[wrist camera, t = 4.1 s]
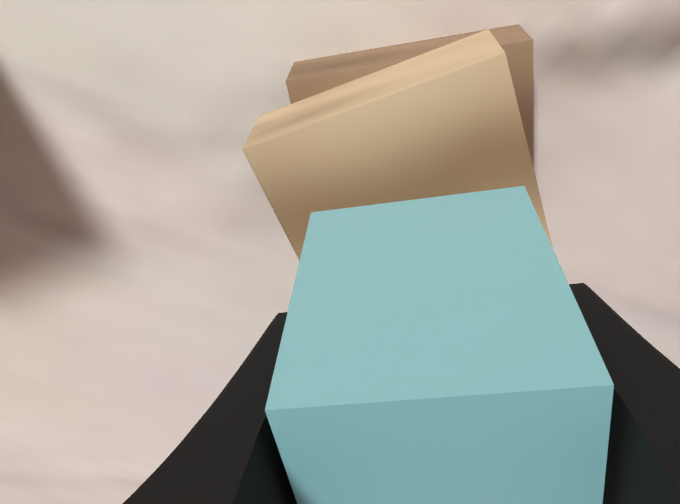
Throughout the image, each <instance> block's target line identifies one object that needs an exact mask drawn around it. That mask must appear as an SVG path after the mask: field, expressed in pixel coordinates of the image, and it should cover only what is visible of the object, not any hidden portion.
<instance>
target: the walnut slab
mask: <svg viewBox="0 0 680 504" xmlns="http://www.w3.org/2000/svg"><path fill="white" fill-rule="evenodd" d="M482 31H484V30H482ZM482 31H476V32H470V33H464V34H458V35H453V36H447V37H441V38H435V39H429V40H423V41H417V42H411V43H405V44H399V45H393V46H387V47H381V48H375V49H369V50H363V51H357V52H351V53H346V54H340V55H334V56H328V57H322V58H316V59H310V60H304V61H298V62H294V64H293V66H292V68H291V71H290V73H289V75H288V77H287V80H286V84H287V88H288V93H289V97H290V102H291V104H293V103H295V102H298V101H300V100H303V99H306V98H308V97H311V96H314V95H316V94H319V93H321V92H324V91H327V90H329V89H332V88H335V87H337V86H340V85H342V84H345V83H348V82H350V81H353V80H356V79H358V78H361V77H363V76H366V75H369V74H371V73H374V72H377V71H379V70H382V69H384V68H387V67H390V66H392V65H395V64H398V63H400V62H403V61H405V60H408V59H411V58H413V57H416V56H419V55H421V54H424V53H426V52H429V51H432V50H434V49H437V48H440V47H442V46H445V45H448V44H450V43H453V42H455V41H458V40H461V39H463V38H466V37H469V36H471V35H474V34H477V33H479V32H482ZM489 31H490V32H491V33H492V35H493V36H494V38H495V39H496V40H497V42H498V43H499V45H500V46H501V47H502V49H503V50H504V52H505V53H506V58H507V62H508V66H509V70H510V74H511V78H512V83H513V87H514V91H515V95H516V99H517V103H518V107H519V112H520V116H521V120H522V124H523V128H524V132H525V136H526V141H527V145H528V149H529V153H530V157H531V161H532V165H533V39H532V38H531V37H530V36H529V35H528V34H527V33H526V32H525V31H524V30H523V29H522V28H521V27H520V26H519V24H518V25H512V26H506V27H500V28H494V29H489Z"/></svg>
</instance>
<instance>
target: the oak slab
mask: <svg viewBox="0 0 680 504" xmlns="http://www.w3.org/2000/svg"><path fill="white" fill-rule="evenodd" d="M242 150H243V152H244V154H245V156H246V157H247V159H248V161H249V163H250V165H251V167H252V169H253V171H254V173H255V175H256V177H257V179H258V181H259V183H260V185H261V187H262V189H263V191H264V193H265V194H266V196H267V198H268V200H269V202H270V204H271V206H272V208H273V210H274V212H275V214H276V216H277V218H278V220H279V222H280V224H281V226H282V228H283V230H284V231H285V233H286V235H287V237H288V239H289V241H290V243H291V245H292V247H293V249H294V251H295V253H296V255H297V257H298V259H299V261H300V257H301V253H302V249H303V245H304V240H305V236H306V232H307V227H308V223H309V219H310V215H311V212H318V211H326V210H334V209H342V208H350V207H358V206H366V205H374V204H382V203H390V202H398V201H406V200H414V199H422V198H430V197H438V196H446V195H454V194H462V193H470V192H478V191H486V190H495V189H503V188H511V187H519V186H525V188H526V191H527V193H528V195H529V197H530V199H531V202H532V204H533V206H534V208H535V211H536V213H537V215H538V217H539V219H540V222H541V224H542V226H543V228H544V231H545V233H546V235H547V237H548V239H549V242H550V244H551V240H550V236H549V232H548V228H547V224H546V219H545V215H544V211H543V207H542V203H541V199H540V195H539V190H538V186H537V182H536V178H535V174H534V170H533V165H532V161H531V157H530V153H529V149H528V145H527V141H526V136H525V132H524V128H523V124H522V120H521V116H520V112H519V107H518V103H517V99H516V95H515V91H514V87H513V83H512V78H511V74H510V70H509V66H508V62H507V58H506V53H505V52H504V50H503V49H502V47H501V46H500V45H499V43H498V42H497V40H496V39H495V38H494V36H493V35H492V33H491V32H490V31H489V29H487V30H484V31H482V32H479V33H477V34H474V35H471V36H469V37H466V38H463V39H461V40H458V41H455V42H453V43H450V44H448V45H445V46H442V47H440V48H437V49H434V50H432V51H429V52H426V53H424V54H421V55H419V56H416V57H413V58H411V59H408V60H405V61H403V62H400V63H398V64H395V65H392V66H390V67H387V68H384V69H382V70H379V71H377V72H374V73H371V74H369V75H366V76H363V77H361V78H358V79H356V80H353V81H350V82H348V83H345V84H342V85H340V86H337V87H335V88H332V89H329V90H327V91H324V92H321V93H319V94H316V95H314V96H311V97H308V98H306V99H303V100H300V101H298V102H295V103H293V104H290V105H287V106H284V107H282V108H279V109H276V110H274V111H271V112H268V113H266V114H263V115H261V116H259V117H258V119H257V121H256V123H255V125H254V127H253V129H252V131H251V133H250V135H249V137H248V139H247V141H246V143H245V145H244V147H243V149H242ZM551 246H552V244H551Z"/></svg>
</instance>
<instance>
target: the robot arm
mask: <svg viewBox="0 0 680 504" xmlns="http://www.w3.org/2000/svg"><path fill="white" fill-rule="evenodd" d="M569 286H570V288H571V291H572V293H573V295H574V297H575V299H576V302H577V304H578V306H579V308H580V311H581V313H582V315H583V317H584V319H585V322H586V324H587V326H588V328H589V330H590V333H591V335H592V337H593V339H594V342H595V344H596V346H597V348H598V350H599V353H600V355H601V357H602V359H603V362H604V364H605V366H606V368H607V370H608V373H609V375H610V377H611V379H612V382H613V384H614V390H613V401H612V411H611V421H610V432H609V442H608V452H607V463H606V473H605V483H604V494H603V504H680V369H679V368H678V367H677V366H676V365H675V364H673V363H672V362H671V361H670V360H669V359H668V358H666V357H665V356H664V355H663V354H662V353H660V352H659V351H658V350H657V349H656V348H655V347H653V346H652V345H651V344H650V343H649V342H648V341H647V340H645V339H644V338H643V337H642V336H641V335H640V334H639V333H638V332H636V331H635V330H634V329H633V328H632V327H631V326H630V325H629V324H628V323H627V322H626V321H624V320H623V319H622V318H621V317H620V316H619V315H618V314H617V313H616V312H615V311H614V310H613V309H612V308H611V307H609V306H608V305H607V304H606V303H605V302H604V301H603V300H602V299H601V298H600V297H599V296H598V295H597V294H596V293H595V292H594V291H593V290H592V289H590V288H589V287H588V286H587V285H586V284H584V283H579V284H569ZM287 313H288V312H286V313H278V314H277V316H276V317H275V318H274V319H273V321H272V322H271V323H270V325H269V326H268V328H267V329H266V331H265V332H264V334H263V335H262V336H261V338H260V339H259V341H258V342H257V344H256V345H255V347H254V348H253V349H252V351H251V352H250V354H249V355H248V356H247V358H246V359H245V361H244V362H243V364H242V365H241V366H240V368H239V369H238V371H237V372H236V373H235V375H234V376H233V377H232V379H231V380H230V381H229V383H228V384H227V385H226V387H225V388H224V389H223V391H222V392H221V393H220V395H219V396H218V397H217V399H216V400H215V401H214V403H213V404H212V405H211V406H210V408H209V409H208V410H207V411H206V413H205V414H204V415H203V416H202V417H201V419H200V420H199V421H198V422H197V423H196V425H195V426H194V427H193V428H192V429H191V431H190V432H189V433H188V434H187V436H186V437H185V438H184V439H183V440H182V442H181V443H180V444H179V445H178V446H177V447H176V448H175V450H174V451H173V452H172V453H171V454H170V455H169V456H168V457H167V459H166V460H165V461H164V462H163V463H162V464H161V465H160V466H159V467H158V468H157V469H156V471H155V472H154V473H153V474H152V475H151V476H150V477H149V478H148V479H147V480H146V481H145V482H144V483H143V484H142V485H141V486H140V487H139V488H138V489H137V490H136V491H135V492H134V493H133V494H132V495H131V496H130V497H129V498H128V499H127V500H126V501H125V502H124V503H123V504H297V502H296V499H295V496H294V493H293V490H292V487H291V484H290V481H289V479H288V476H287V473H286V470H285V467H284V464H283V461H282V458H281V456H280V453H279V450H278V447H277V444H276V441H275V438H274V435H273V433H272V430H271V427H270V424H269V421H268V418H267V415H266V412H265V407H266V403H267V399H268V394H269V390H270V386H271V381H272V377H273V373H274V369H275V364H276V360H277V356H278V352H279V347H280V343H281V339H282V334H283V330H284V326H285V322H286V317H287Z"/></svg>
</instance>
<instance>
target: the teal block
mask: <svg viewBox="0 0 680 504" xmlns="http://www.w3.org/2000/svg"><path fill="white" fill-rule="evenodd" d="M613 390H614V384H613V382H612V379H611V377H610V375H609V373H608V370H607V368H606V366H605V364H604V362H603V359H602V357H601V355H600V353H599V350H598V348H597V346H596V344H595V342H594V339H593V337H592V335H591V333H590V330H589V328H588V326H587V324H586V322H585V319H584V317H583V315H582V313H581V311H580V308H579V306H578V304H577V302H576V299H575V297H574V295H573V293H572V291H571V288H570V286H569V284H568V282H567V279H566V277H565V275H564V273H563V271H562V268H561V266H560V264H559V262H558V259H557V257H556V255H555V253H554V251H553V248H552V246H551V244H550V242H549V239H548V237H547V235H546V233H545V231H544V228H543V226H542V224H541V222H540V219H539V217H538V215H537V213H536V211H535V208H534V206H533V204H532V202H531V199H530V197H529V195H528V193H527V191H526V188H525V186H519V187H511V188H503V189H495V190H486V191H478V192H470V193H462V194H454V195H446V196H438V197H430V198H422V199H414V200H406V201H398V202H390V203H382V204H374V205H366V206H358V207H350V208H342V209H334V210H326V211H318V212H311V215H310V219H309V223H308V227H307V232H306V236H305V240H304V245H303V249H302V253H301V257H300V262H299V266H298V270H297V275H296V279H295V283H294V287H293V292H292V296H291V300H290V304H289V309H288V313H287V317H286V322H285V326H284V330H283V334H282V339H281V343H280V347H279V352H278V356H277V360H276V364H275V369H274V373H273V377H272V381H271V386H270V390H269V394H268V399H267V403H266V407H265V412H266V415H267V418H268V421H269V424H270V427H271V430H272V433H273V435H274V438H275V441H276V444H277V447H278V450H279V453H280V456H281V458H282V461H283V464H284V467H285V470H286V473H287V476H288V479H289V481H290V484H291V487H292V490H293V493H294V496H295V499H296V502H297V504H603V494H604V483H605V473H606V463H607V452H608V442H609V432H610V421H611V411H612V401H613Z"/></svg>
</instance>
